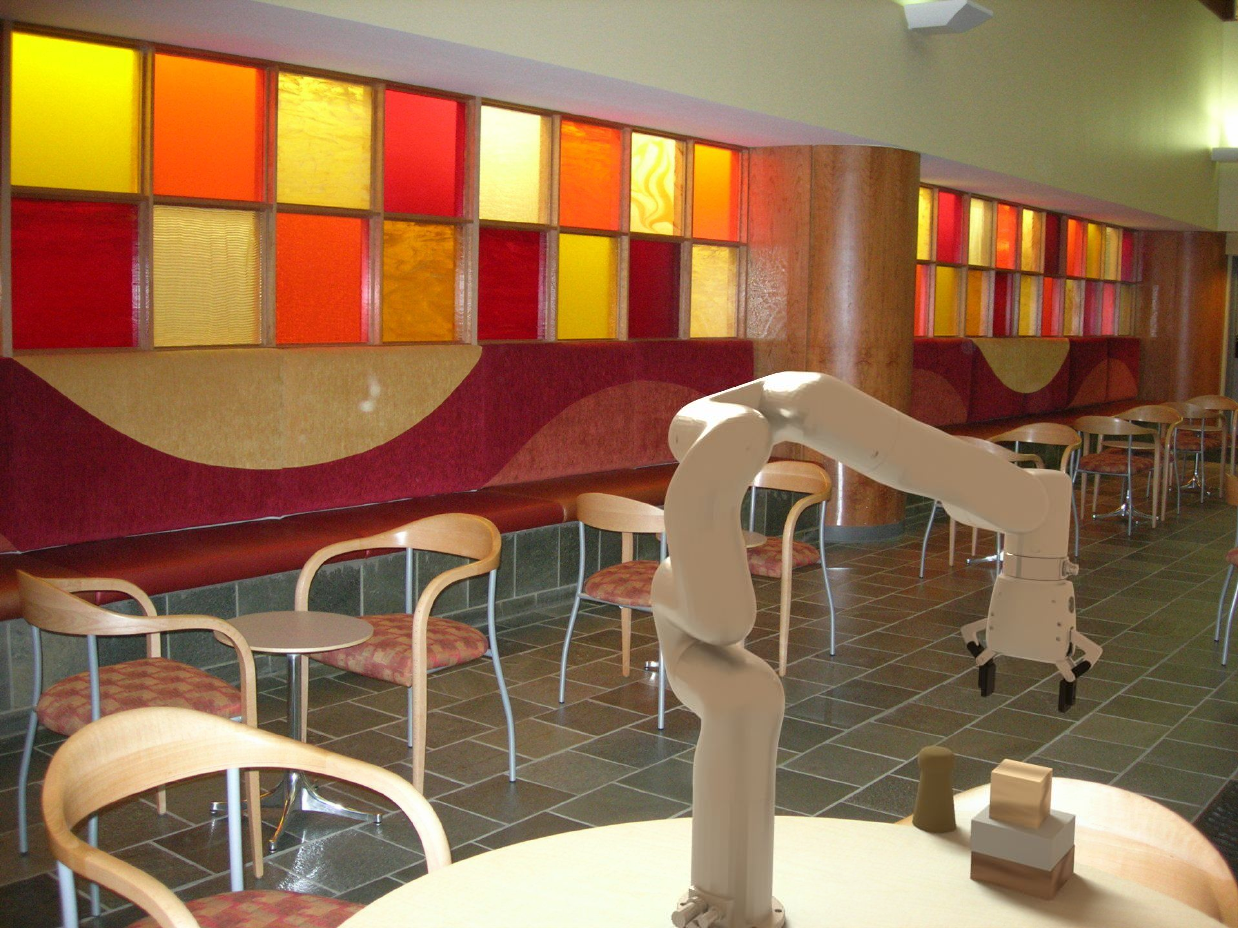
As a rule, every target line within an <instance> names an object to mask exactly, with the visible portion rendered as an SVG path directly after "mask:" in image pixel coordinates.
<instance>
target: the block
mask: <svg viewBox="0 0 1238 928" xmlns="http://www.w3.org/2000/svg"><path fill="white" fill-rule="evenodd" d="M1052 785H1053V768H1052V767H1051V768H1050V767H1047V766H1042V765H1037V764H1033V763H1027V762H1023V761H1019V760H1018V761H1017V760H1013V759H1008V758H1005V759H1003V760H1002V761H1001V762H1000V763H999V764H998V765H997V766H996V767H995V768H994V769H993V770H992V771H991V773H990V785H989V786H990V788H989V789H990V790H989V791H990V792H989V804H990V805H989V804H988V805H989V818H992V819H996V820H1000V821H1005V822H1009V823H1013V824H1018V825H1022V826H1026V827H1031V828H1035V829H1038V828H1039V826H1040V825H1041V824H1042V823H1043V822H1044V821H1045V819H1046V818H1047V817H1048V816H1049V815H1050V809H1051V802H1052V789H1053V788H1052Z"/></svg>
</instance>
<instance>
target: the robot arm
mask: <svg viewBox="0 0 1238 928" xmlns="http://www.w3.org/2000/svg"><path fill="white" fill-rule="evenodd" d="M668 428H669V429H668V440H667V441H668V446H669V449H670V452H671V454H672V455H673V457H674V458H675V460H676V461H677V462H678V463H679V464H678V466H677V468H676V469H675V472H674V473H673V476H672V477H671V480H670V483H669V484H668V487H667V491H666V495H665V497H664V505H663V523H664V530H665V537H666V542H667V550H668V557H666V558H664V560H663V561H662V562H661V563H660V564H659V566H658V567H657V569H656V571H655V572H654V575H653V578H652V581H651V587H650V604H651V605H650V606H651V610H652V614H653V620H654V625H655V629H656V634H657V640H658V643H659V647H660V652H661V657H662V661H663V665H664V670H665V673H666V677H667V680H668V682H669V685H670V688H671V690H672V692H673V693H674V695H675V696H676V698H677V699H678V701H680V703H681V704H683V705H684V706H685V707H686V708H687V709H689V710H690V711H692V712H693V713H694V714H696V716H697V717H698V718H699V719H700V724H701V725H700V733H699V736H698V740H697V744H696V747H695V751H694V756H693V765H692V812H691V813H692V815H691V817H692V821H691V825H692V827H691V859H690V860H691V861H690V863H691V864H690V886H688V891H687V892H686V893H684V894H683V895H682V896H681V897H679V899H678V901H677V903H676V910H675V911H673V912H672V914H671V916H670V917H671V918H670V919H671V921H672V925H674V926H675V927H676V928H783V927H784V926H785V921H786V910H785V907H784V905H783V904H782V902H781V901H780V900H779V899H777V897H775V896H773V883H774V882H773V881H774V880H773V878H774V849H775V848H774V847H775V819H776V818H775V815H776V813H775V812H776V773H777V772H776V771H777V757H778V747H779V741H780V735H781V730H782V727H783V726H782V725H783V720H784V717H785V709H786V696H785V690H784V686H783V684H782V681H781V679H780V677H779V676H778V674H777V673H776V671H775V669H773V667H772V666H771V665H770V664H769V663H768V662H766V660H764V659H762V658H761V657H760V656H758V655H756V654H754V653H752V652H751V651H750V650H748V649H746V648H744V647H741V646H739V645H738V644H737V643H740V642H742V641H743V640H745V638H747V636H749V634H750V633H751V632H752V630H753V628H754V626H755V622H756V618H757V599H756V594H755V589H754V585H753V581H752V576H751V571H750V566H749V563H748V557H747V552H746V548H745V544H744V537H743V531H742V530H743V529H742V523H741V510H742V509H741V508H742V504H743V500H744V498H745V494H746V492H747V490H748V489H749V487H750V486H751V484H752V483H753V481H754V480H755V479H756V477H757V476H758V475H759V473H760V472H761V471H762V470H763V469H764V468H765V466H766V465H767V463H768V461H769V459H770V457H771V455H772V451H773V447H774V446H775V445H778V444H780V443H783V442H790V443H796V444H797V443H798V444H799V445H804V447H805V446H806V447H807V448H810V449H811V450H813V451H816V452H818V453H820V454H822V455H824V456H825V457H828V458H830V459H832V460H834V461H836V462H838V463H841V464H843V465H845V466H846V467H849V468H850V469H852V470H854V471H856V472H857V473H859V474H862V475H864V476H866V477H867V478H868V479H869V478H870V479H871V480H873V481H875V482H877V483H879V484H882V485H884V486H887V487H890V488H892V489H894V490H895V489H896V490H898V491H902V492H905V493H909V494H914V495H916V496H917V495H918V496H922V497H926V498H928V499H932V500H936V501H939V502H941V505H942V507H943V509H944V510H945V512H946V514H948V516H949V517H951V518H952V519H953V520H955V521H957V522H958V523H961V524H962V525H964V526H965V525H966V526H970V527H974V528H978V529H982V530H987V531H992V532H997V533H1001V534H1004V541H1003V555H1002V569H1001V570H1002V572H1001V573H999V574H997V575H996V578H995V581H994V585H993V590H992V593H991V597H990V604H989V608H988V614H987V617H985V618H983V619H980V620H977V621H975V622H971V623H968V624H965V625H963V626H961V627H960V632H961V636H962V637H963V640H964V642H965V644H966V649H967V650H968V652H969V653H970V654H971V655H972V656H973V658H974V659H975V663H976V665H978V666H979V667H978V679H977V680H978V681H977V686H978V687H977V688H978V689H980V697H982V698H987V697H989V696H990V695H992V694H994V693H995V686H996V672H997V664H996V662H994V659H995V658H996V657H997V656H998V655H1001V656H1007V657H1012V658H1019V659H1025V660H1029V661H1030V660H1031V661H1035V662H1041V663H1046V664H1048V663H1049V664H1054V665H1055V666H1056V668H1057V669H1058V671H1059V672H1060V674H1061V675H1062V677H1063V679H1061V680H1060V681H1059V686H1058V687H1059V689H1058V690H1059V691H1058V704H1057V711H1058V712H1059V713H1062V714H1066V713H1067V712H1068V711H1069V710H1070V709H1071V707H1074V706H1075V704H1076V700H1077V699H1076V698H1077V685H1078V679H1079V678H1080V677H1081V676H1083V675H1084V674H1085V673H1087V672H1088V671H1089V670H1091V669H1092V668H1093V667H1094V665H1095V664H1096V662H1097V661H1098V660H1099V658H1100V657H1101V655H1102V653H1103V652H1104V651H1103V650H1104V649H1103V648H1102V647H1101V646H1100V645H1098V644H1096V643H1095V642H1094V641H1092V640H1091V639H1089V638H1088V637H1086V636H1085V635H1084V634H1082V633H1080V632H1079V631H1077V624H1076V623H1077V619H1076V617H1077V616H1076V599H1075V588H1074V585H1073V582H1072V581H1070V580H1067V578H1069V577H1068V576H1077V575H1078V574H1079V571H1080V570H1079V568H1080V567H1079V564H1077V563H1073V562H1071V561H1070V557H1069V556H1068V550H1069V549H1068V548H1069V536H1070V522H1071V506H1072V493H1073V484H1072V478H1071V477H1070V475H1069V474H1068V473H1066V472H1065V471H1061V470H1057V469H1046V468H1030V467H1029V468H1022V467H1021V466H1018V465H1017V464H1014V463H1012V462H1011V461H1009V460H1007V459H1004V458H1003V457H1001V456H999V455H997V454H995V453H993V452H991V451H989V450H987V449H984V448H982V447H980V446H978V445H976V444H973V443H970V442H968V441H966V440H963V439H961V438H958V437H956V436H954V435H951V434H950V433H947V432H945V431H943V430H941V429H939V428H936V427H934V426H933V425H930V424H926V423H924V422H922V421H920V420H917V419H915V418H913V417H911V416H909V415H907V414H906V413H904V412H901V411H899V410H897V409H896V408H894V407H891V406H890V405H888V404H886V403H884V402H882V401H880V400H878V399H876V398H875V397H873V396H871V395H869V394H868V393H865V392H864V391H862V390H860V389H858V388H856V387H854V386H853V385H851V384H849V383H847V382H845V381H843V380H841V379H839V378H837V377H835V376H832V375H830V374H827V373H822V372H815V371H795V370H794V371H791V370H790V371H782V372H778V373H777V372H776V373H774V374H771V375H770V374H769V375H768V376H764V377H762V378H758V379H756V380H752V381H750V382H747V383H744V384H741V385H738V386H736V387H732V388H729V389H726V390H724V391H721V392H717V393H714V394H711V395H708V396H704V397H702V398H699V399H697V400H694V401H692V402H690V403H688V404H686V405H685V406H683V407H682V408H681V409H680V410H678V412H677V413H676V414H675V416H674V417H673V419H672V420H671V422H670V425H669V427H668ZM984 630H985V646H986V648H984V646H983V644H981V642H980V641H979V640H978V637H977V632H980V631H984ZM1076 647H1078V648H1079V649H1080V650H1082V651H1083V652H1084V653H1085V656H1084V657H1083V660H1082V661H1081V662H1079V664H1076V662H1075V661H1074V660H1073V658H1072V657H1073V655H1074V654H1075V652H1076Z"/></svg>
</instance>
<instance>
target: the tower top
mask: <svg viewBox="0 0 1238 928" xmlns="http://www.w3.org/2000/svg"><path fill="white" fill-rule="evenodd" d="M989 805H990V803H989V804H988V805H986V806H985V807H984V808H983V809H981V810H980V811H979V812H978V814H977V813H976V815H975V816H973V818H971V820H970V839H969V840H970V842H969V844H970V845H969V851H970V852H971V851H975V852H978V853H982V854H986V855H990V856H994V857H997V858H1001V859H1005V860H1009V861H1013V862H1016V863H1020V864H1024V865H1028V866H1032V867H1035V868H1039V869H1043V870H1047V871H1051V870H1052V869H1053V868H1054V867H1055V866H1056V865H1057V864H1058V862H1059V861H1060V860H1061V859H1062V858H1063V857H1064V856H1065V855H1066V854H1067V852H1068V851H1069V850H1070V849H1071V848H1072V847H1073V846H1074V845H1075V836H1076V835H1075V833H1076V817H1077V816H1076V814H1074V813H1069V812H1066V811H1065V812H1063V811H1061V810H1057V809H1052V808H1050V815H1049V816H1048V817H1047V818H1046V819H1045V821H1044V822H1043V823H1042V824H1041V825H1040V826H1039V828H1038V829H1035V828H1031V827H1026V826H1022V825H1018V824H1013V823H1009V822H1005V821H1000V820H996V819H992V818H989Z"/></svg>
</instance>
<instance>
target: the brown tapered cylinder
mask: <svg viewBox="0 0 1238 928" xmlns="http://www.w3.org/2000/svg"><path fill="white" fill-rule="evenodd" d="M917 755H918V756H917V765H918V767H919V768H920V777H919V781H918V785H917V786H918V787H917V792H916V797H915V803H914V808H913V809H914V810H913V815H912V819H911V823H912V826H914V827H915V828H917V829H919V830H921V831H924V832H929V833H936V834H938V833H939V834H944V833H945V834H946V833H950V832H954V830H956V829H957V824H956V823H957V821H956V811H955V799H954V788H953V777H952V773H954V771H955V768H956V764H957V759H956V756H955V753H954V752H953V751H952V750H951V749H949V748H947V747H944V746H938V745H927V746H925V747H922V748H921V749H920V751H918V754H917Z"/></svg>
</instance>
